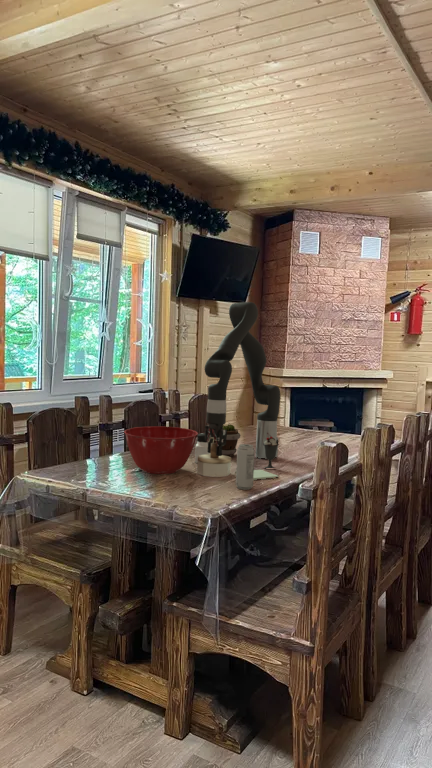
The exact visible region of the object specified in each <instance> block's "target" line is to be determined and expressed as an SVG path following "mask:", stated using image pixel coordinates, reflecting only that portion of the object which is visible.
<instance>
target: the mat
mask: <svg viewBox="0 0 432 768" xmlns="http://www.w3.org/2000/svg"><path fill="white" fill-rule="evenodd" d="M235 473H236V471H235ZM274 477H280V476H279V475H277V474H275V473H271V472H268V471H267V470H265V469H264V470H263V469H254V474H253V481H258V480H257V479H261V480H267V479H266V478H273V479H275V478H274Z"/></svg>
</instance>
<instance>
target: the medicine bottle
mask: <svg viewBox="0 0 432 768" xmlns="http://www.w3.org/2000/svg"><path fill="white" fill-rule="evenodd" d="M207 438H208V437H207ZM196 441H197V442H196V444H195V446H194V448H195V450H194V463H196V464H198V456H200V455H206V454H211V453H208V443H207V441H205V432H204V433H198V435H197V437H196Z"/></svg>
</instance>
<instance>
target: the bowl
mask: <svg viewBox="0 0 432 768" xmlns="http://www.w3.org/2000/svg"><path fill="white" fill-rule="evenodd" d="M231 462H232V461H231ZM231 462H230V463H226V464H209V463H203V462H199V461H198V463H197V468H196V469H197V470H196V473H197V474H198V475H201V476H203V477H211V478H212V477H213V478H220V477H222V478H223V477H228V476H229V475H230V474H231V467H232V466H231V465H232V463H231Z"/></svg>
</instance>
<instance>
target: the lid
mask: <svg viewBox="0 0 432 768" xmlns="http://www.w3.org/2000/svg"><path fill="white" fill-rule="evenodd" d="M216 446H217V445H216V443H211V454H206V455H200V456H198V461H199V462H203V463H209V464H226V463H230V462H232V456H231V457H229V456H225V455H222V456H216Z"/></svg>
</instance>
